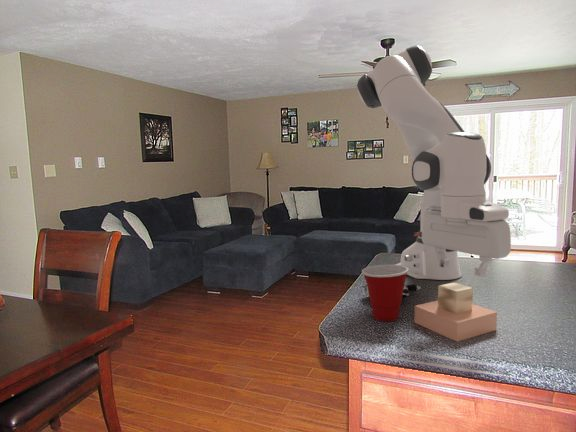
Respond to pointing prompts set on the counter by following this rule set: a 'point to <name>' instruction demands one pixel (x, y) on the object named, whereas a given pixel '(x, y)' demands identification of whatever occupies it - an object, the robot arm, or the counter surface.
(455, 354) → the counter surface
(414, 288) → the robot toy
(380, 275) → the plastic cup
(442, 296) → the maple cube
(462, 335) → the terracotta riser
